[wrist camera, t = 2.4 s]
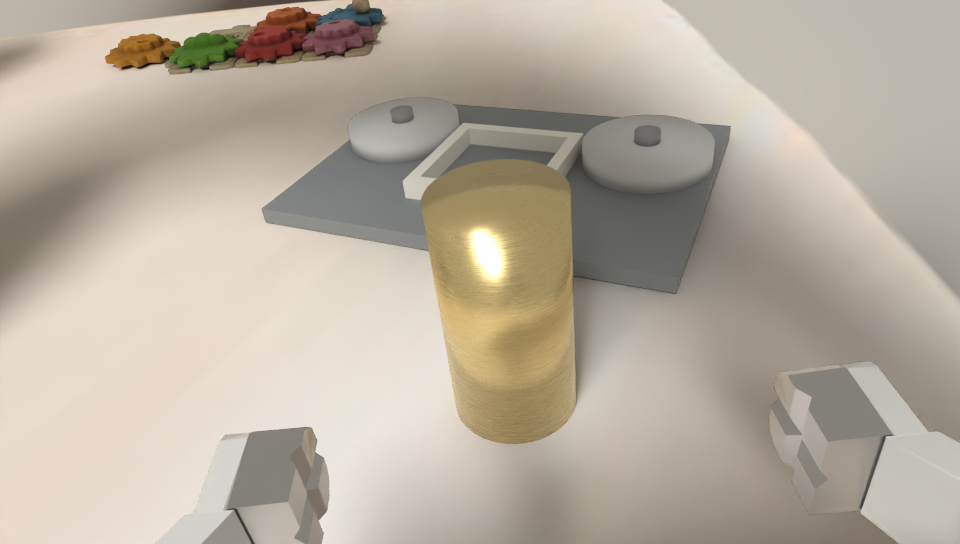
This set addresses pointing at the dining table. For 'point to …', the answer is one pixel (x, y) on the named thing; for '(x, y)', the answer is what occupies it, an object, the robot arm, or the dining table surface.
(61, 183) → the dining table surface
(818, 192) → the dining table surface
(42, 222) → the dining table surface
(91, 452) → the dining table surface
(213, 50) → the gear puzzle
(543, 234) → the brushed brass cylinder
